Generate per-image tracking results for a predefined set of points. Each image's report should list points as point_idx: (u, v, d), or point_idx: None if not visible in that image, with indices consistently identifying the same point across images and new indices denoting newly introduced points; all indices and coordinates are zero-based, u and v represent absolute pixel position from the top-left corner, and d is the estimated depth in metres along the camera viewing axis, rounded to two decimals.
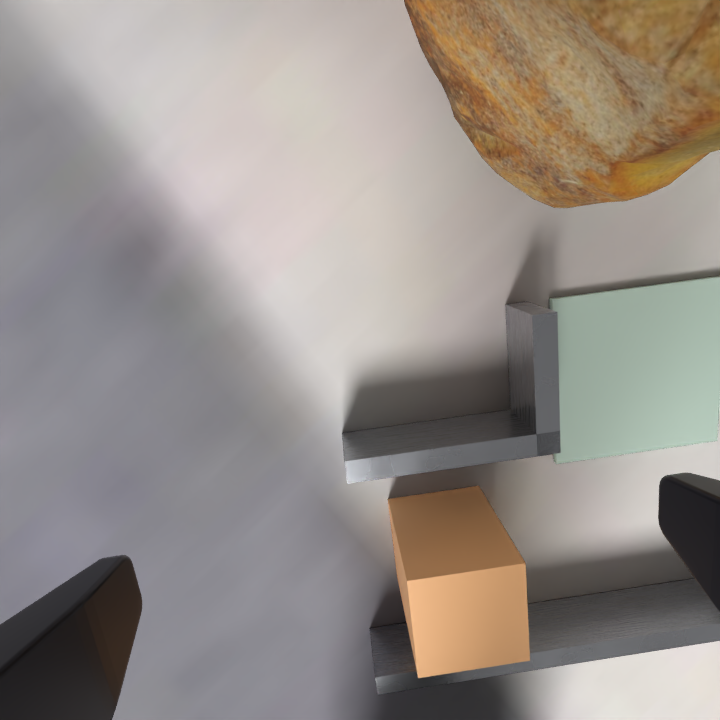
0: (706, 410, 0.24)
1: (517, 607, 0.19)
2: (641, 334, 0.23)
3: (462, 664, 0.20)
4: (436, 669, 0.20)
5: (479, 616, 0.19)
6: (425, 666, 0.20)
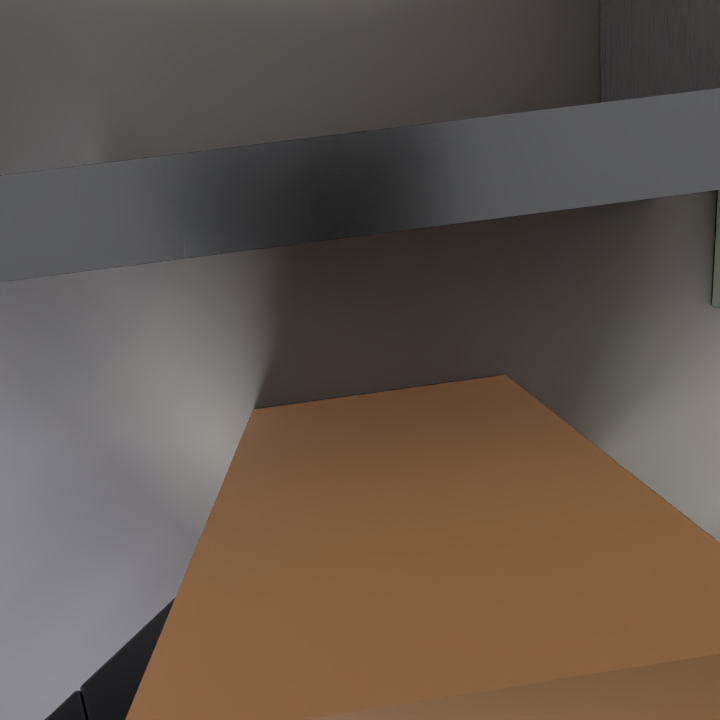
0: None
1: None
2: None
3: None
4: None
5: None
6: None
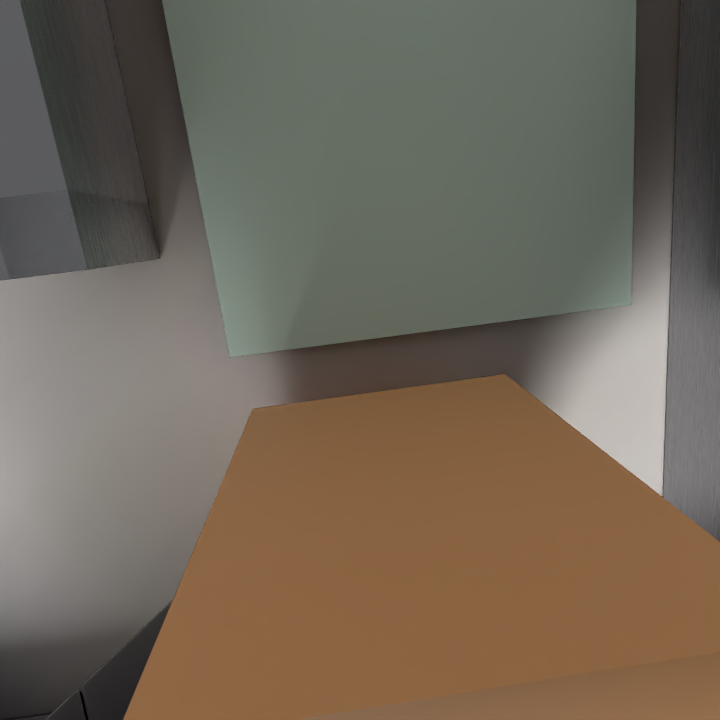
0: (600, 222, 0.10)
1: None
2: None
3: None
4: None
5: None
6: None
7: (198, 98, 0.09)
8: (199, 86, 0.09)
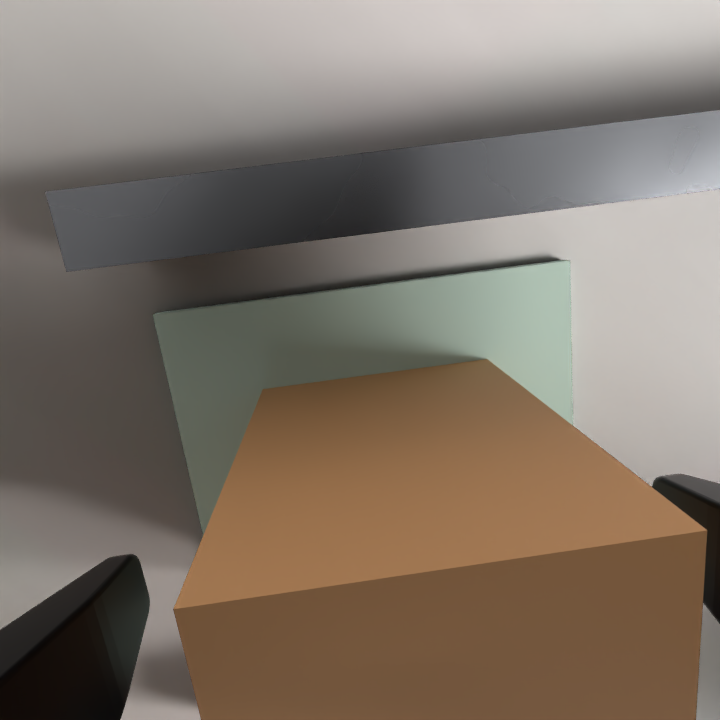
0: (486, 303, 0.10)
1: (655, 715, 0.05)
2: None
3: None
4: None
5: None
6: None
7: None
8: None
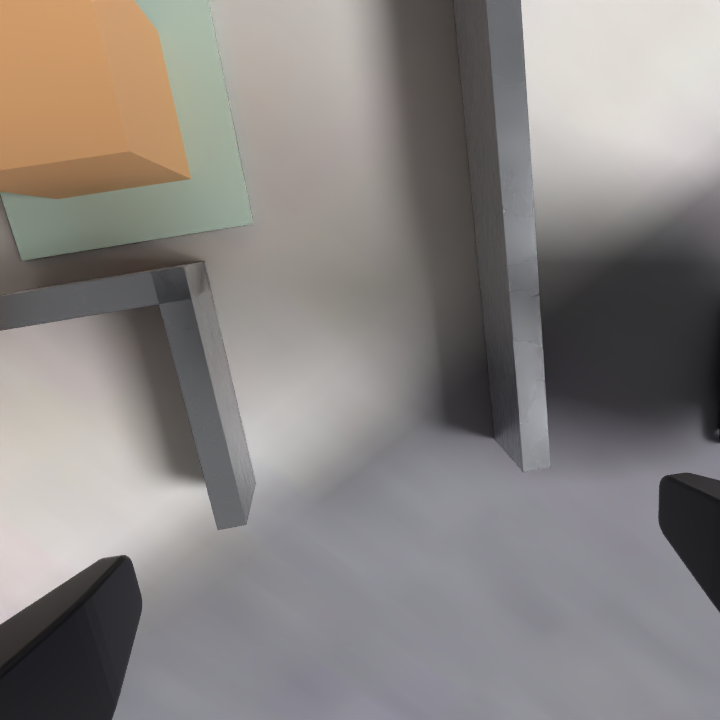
0: None
1: (77, 24, 0.11)
2: None
3: (3, 154, 0.11)
4: None
5: (10, 42, 0.11)
6: None
7: (119, 235, 0.17)
8: (113, 235, 0.17)
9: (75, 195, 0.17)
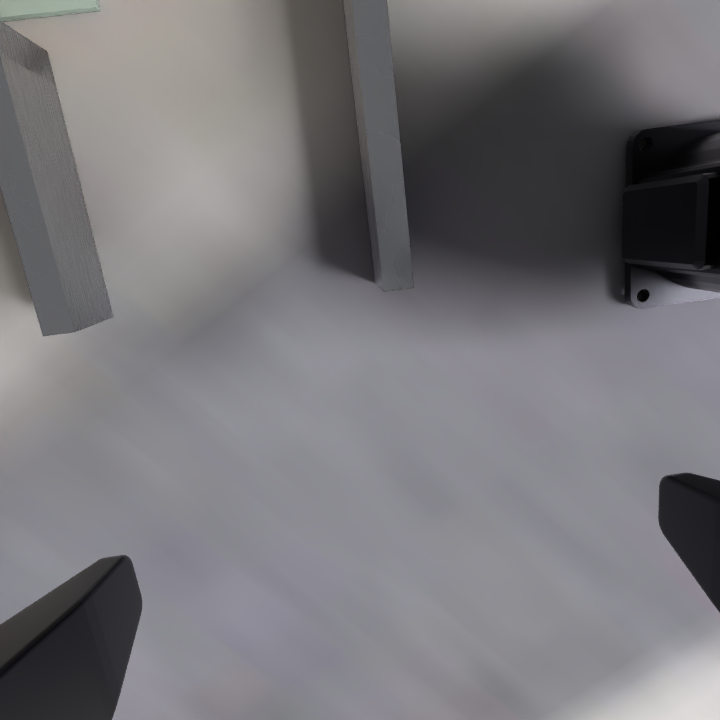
0: None
1: None
2: None
3: None
4: None
5: None
6: None
7: None
8: None
9: None
